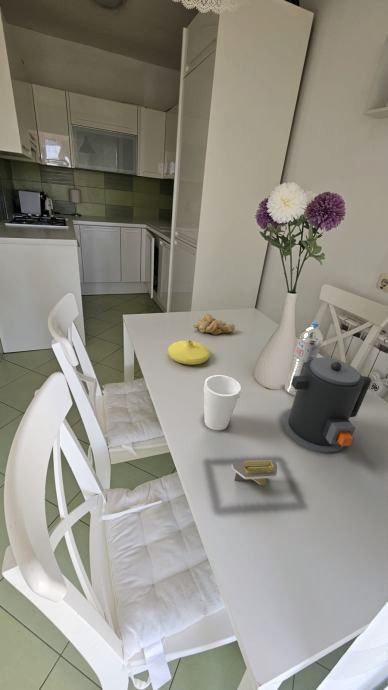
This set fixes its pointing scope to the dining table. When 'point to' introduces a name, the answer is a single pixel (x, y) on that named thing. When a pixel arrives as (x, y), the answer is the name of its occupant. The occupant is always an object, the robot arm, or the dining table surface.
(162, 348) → the dining table surface
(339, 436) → the kettle switch
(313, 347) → the water bottle
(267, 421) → the dining table surface
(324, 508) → the dining table surface
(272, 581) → the dining table surface
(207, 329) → the ginger root
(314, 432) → the kettle
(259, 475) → the platform
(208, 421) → the foam cup
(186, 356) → the yellow knobbed round disc
